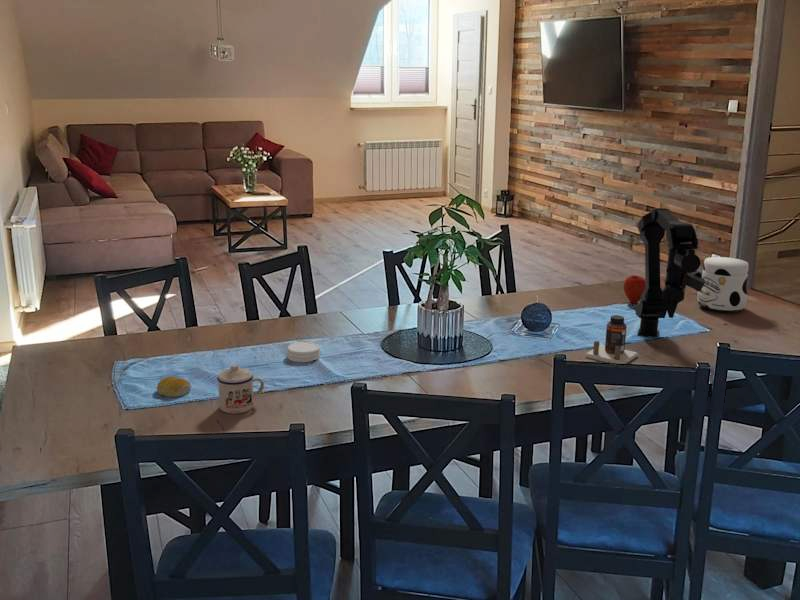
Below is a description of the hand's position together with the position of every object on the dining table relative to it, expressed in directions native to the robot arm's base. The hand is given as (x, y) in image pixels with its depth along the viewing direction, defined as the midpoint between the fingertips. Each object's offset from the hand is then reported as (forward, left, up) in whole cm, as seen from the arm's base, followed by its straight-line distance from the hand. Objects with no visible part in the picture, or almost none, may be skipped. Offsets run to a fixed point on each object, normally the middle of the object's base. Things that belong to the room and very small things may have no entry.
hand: (671, 313), depth 249 cm
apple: (-53, -15, -13) cm, 57 cm away
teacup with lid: (+85, -102, -13) cm, 133 cm away
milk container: (-58, +16, -13) cm, 62 cm away
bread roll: (+83, -124, -14) cm, 150 cm away
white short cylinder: (+46, -104, -13) cm, 115 cm away
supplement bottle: (+8, -15, -12) cm, 21 cm away
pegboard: (+10, -16, -13) cm, 23 cm away
